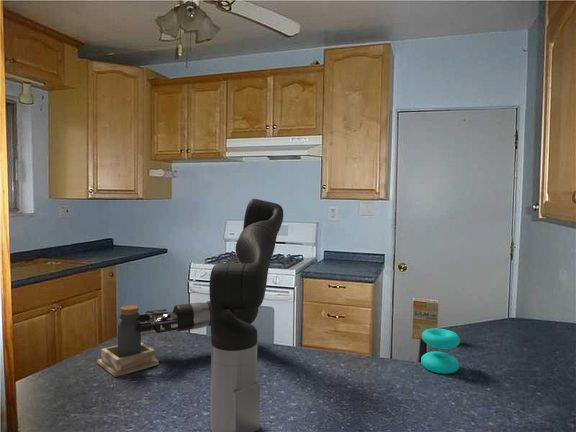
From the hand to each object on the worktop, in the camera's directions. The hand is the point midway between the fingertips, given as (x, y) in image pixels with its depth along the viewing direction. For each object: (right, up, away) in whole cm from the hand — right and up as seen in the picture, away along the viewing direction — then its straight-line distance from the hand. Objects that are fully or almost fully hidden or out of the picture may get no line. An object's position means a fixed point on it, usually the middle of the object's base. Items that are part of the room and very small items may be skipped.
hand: (134, 323), depth 116 cm
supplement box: (+88, -12, +25) cm, 93 cm away
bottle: (-1, -10, -1) cm, 10 cm away
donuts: (+85, -13, +1) cm, 86 cm away
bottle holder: (-2, -11, 0) cm, 11 cm away
